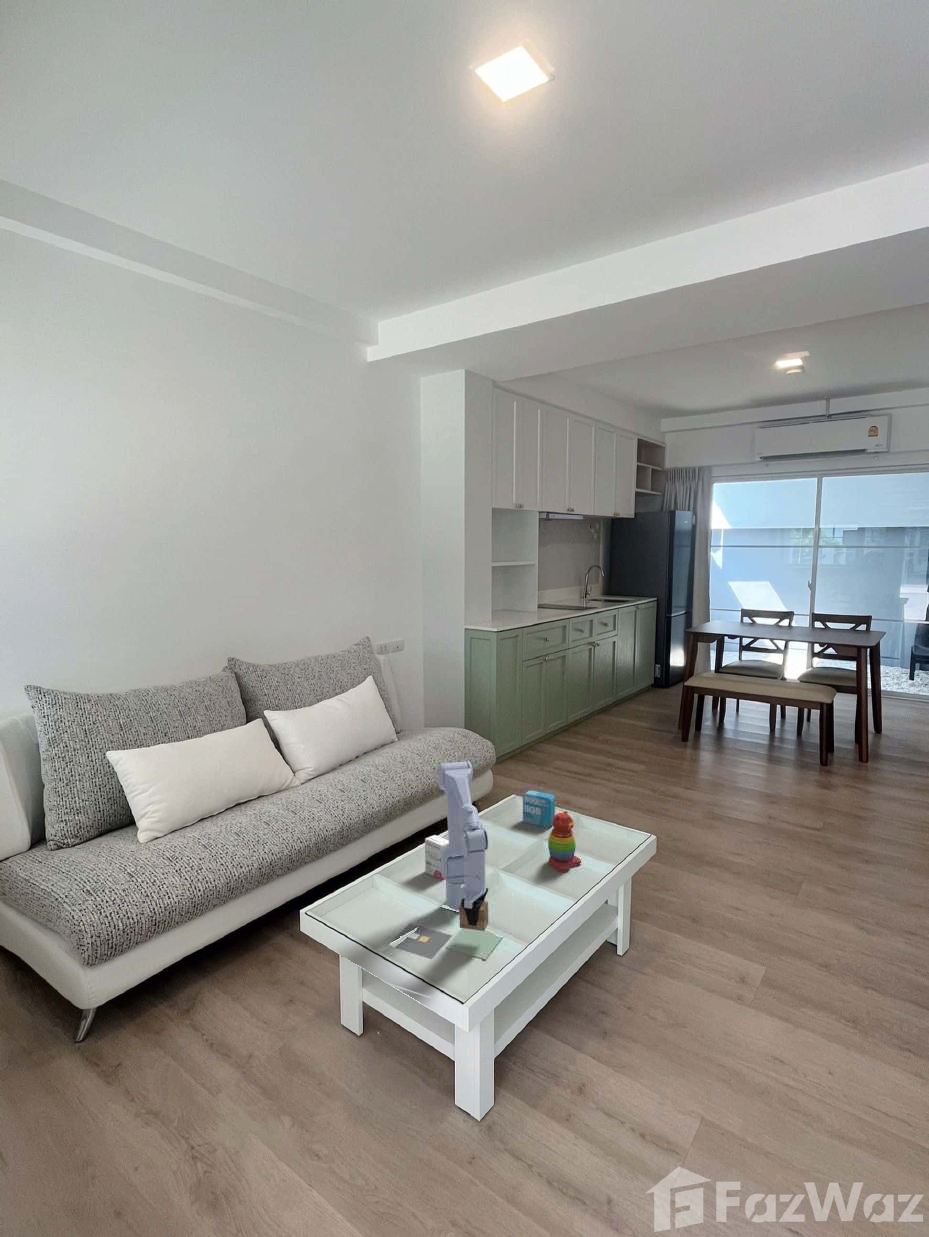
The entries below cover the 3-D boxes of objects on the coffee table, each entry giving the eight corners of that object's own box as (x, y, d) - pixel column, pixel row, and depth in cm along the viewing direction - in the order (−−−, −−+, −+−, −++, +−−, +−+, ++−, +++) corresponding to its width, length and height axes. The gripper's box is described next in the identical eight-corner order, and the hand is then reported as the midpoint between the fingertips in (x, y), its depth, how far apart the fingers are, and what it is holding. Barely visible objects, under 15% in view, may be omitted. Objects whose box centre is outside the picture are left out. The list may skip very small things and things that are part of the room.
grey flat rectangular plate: (409, 923, 192) (409, 923, 192) (452, 936, 186) (452, 935, 186) (387, 946, 182) (387, 945, 182) (431, 959, 175) (431, 959, 175)
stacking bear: (563, 873, 221) (564, 822, 219) (540, 863, 229) (541, 813, 227) (584, 863, 228) (584, 813, 227) (561, 853, 236) (561, 805, 234)
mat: (465, 926, 191) (465, 924, 191) (503, 936, 186) (503, 935, 186) (445, 948, 180) (445, 947, 180) (485, 960, 175) (485, 959, 175)
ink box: (452, 874, 221) (452, 841, 220) (442, 880, 217) (441, 846, 216) (434, 866, 227) (434, 833, 226) (424, 871, 223) (423, 838, 222)
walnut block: (464, 918, 185) (463, 898, 185) (488, 922, 184) (488, 901, 183) (459, 927, 181) (459, 906, 181) (484, 931, 179) (484, 909, 179)
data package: (522, 822, 263) (522, 793, 262) (527, 818, 267) (527, 789, 266) (550, 828, 257) (550, 798, 256) (555, 824, 261) (555, 794, 260)
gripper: (467, 858, 189) (468, 904, 190) (453, 883, 175) (453, 932, 176) (491, 861, 187) (491, 907, 188) (479, 886, 173) (479, 936, 174)
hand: (475, 919), depth 182 cm, fingers closed on walnut block, 4 cm apart
